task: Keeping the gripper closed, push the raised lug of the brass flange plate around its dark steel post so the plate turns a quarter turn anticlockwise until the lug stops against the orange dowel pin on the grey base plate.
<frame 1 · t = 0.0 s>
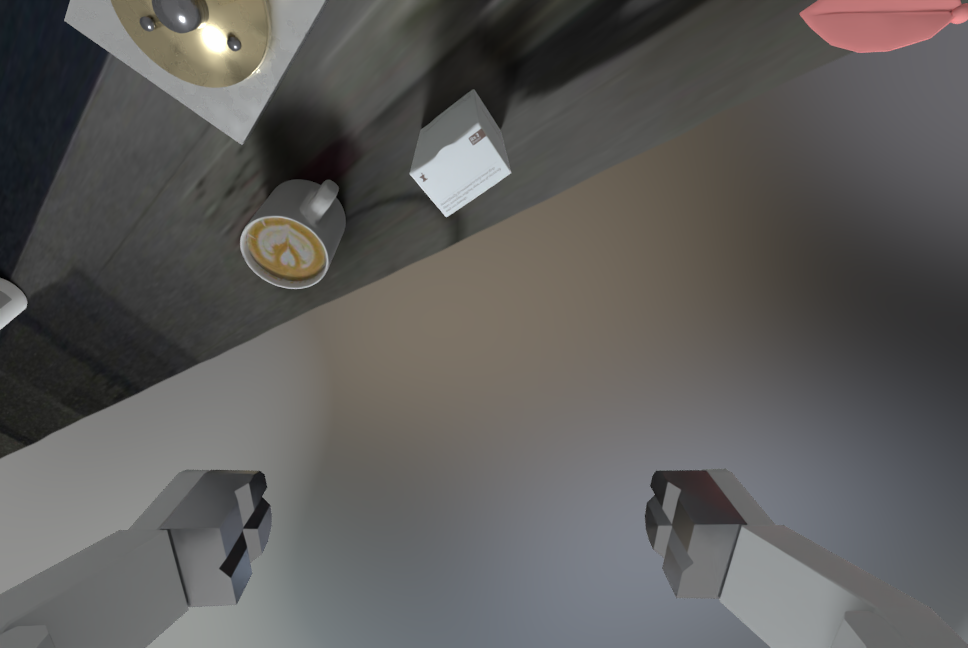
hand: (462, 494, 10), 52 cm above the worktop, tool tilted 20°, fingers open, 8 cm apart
base plate: (205, 2, 46), on the worktop
white bottle: (2, 292, 68), on the worktop
flange plate: (191, 4, 43), point 5 cm above the worktop, hinge at 0.0°
coffee mug: (316, 207, 61), on the worktop
skincare box: (461, 127, 55), on the worktop
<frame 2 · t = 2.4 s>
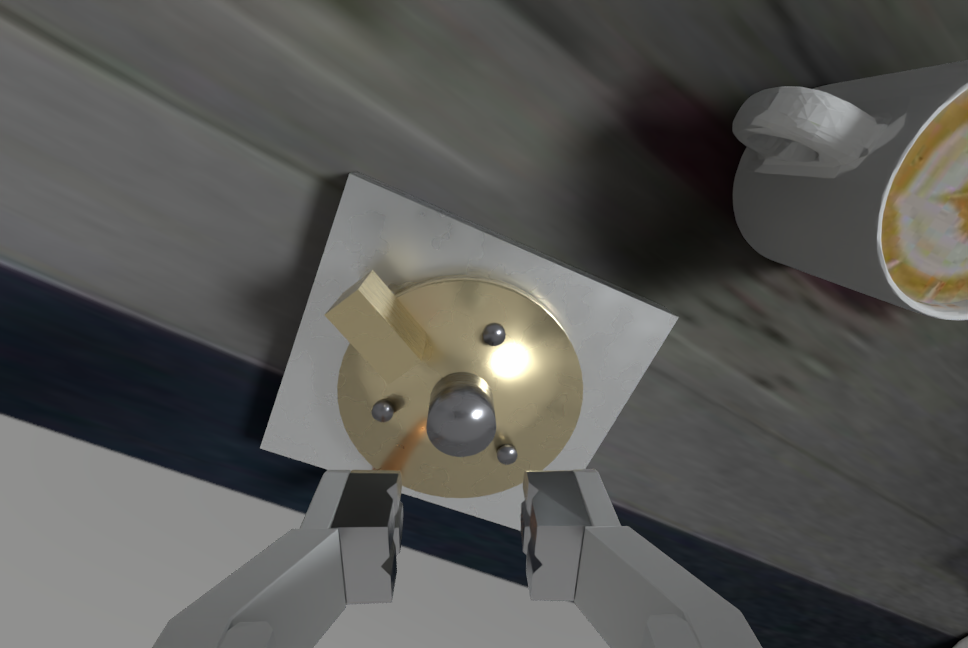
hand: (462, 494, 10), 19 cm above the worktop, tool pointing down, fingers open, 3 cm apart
base plate: (461, 370, 30), on the worktop
flange plate: (451, 398, 25), point 5 cm above the worktop, hinge at 0.0°
coffee mug: (796, 161, 26), on the worktop
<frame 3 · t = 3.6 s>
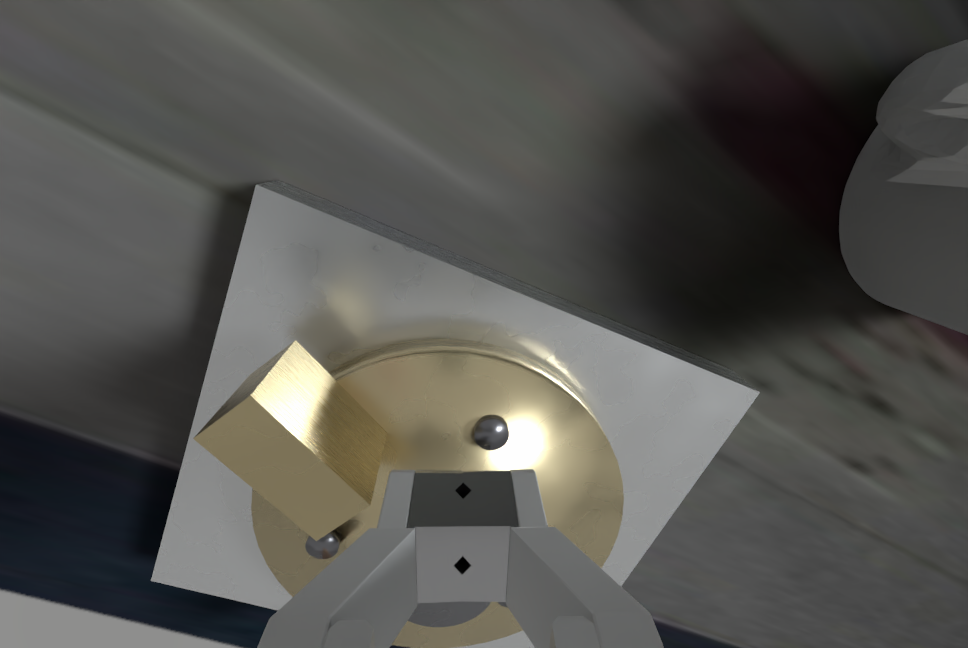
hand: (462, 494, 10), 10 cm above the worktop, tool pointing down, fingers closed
base plate: (444, 459, 21), on the worktop
flange plate: (426, 529, 16), point 5 cm above the worktop, hinge at 0.0°
coffee mug: (933, 164, 18), on the worktop
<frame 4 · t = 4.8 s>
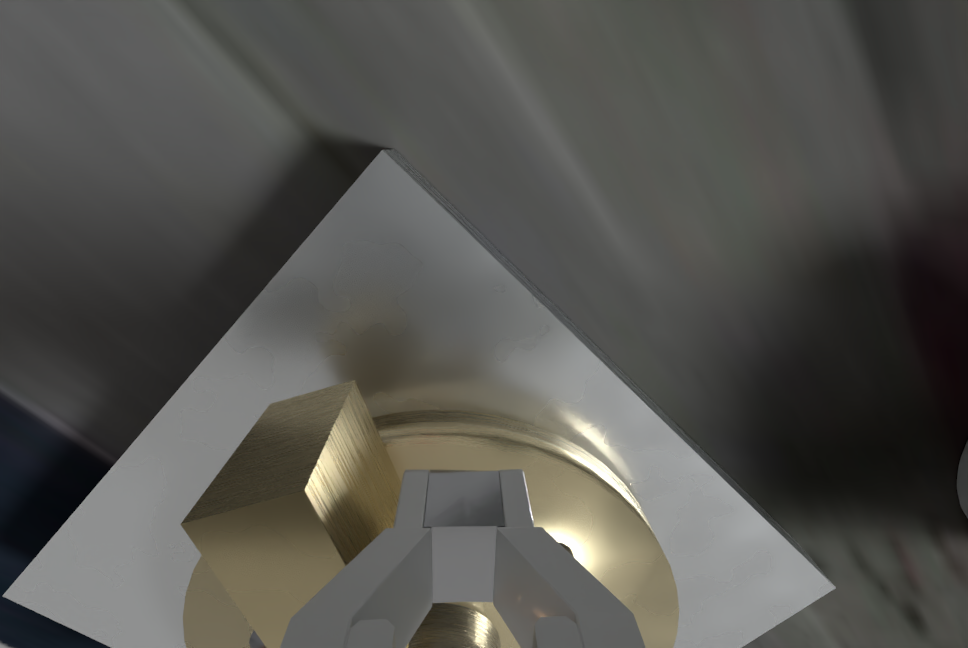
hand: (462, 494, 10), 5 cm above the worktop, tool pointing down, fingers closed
base plate: (443, 542, 17), on the worktop
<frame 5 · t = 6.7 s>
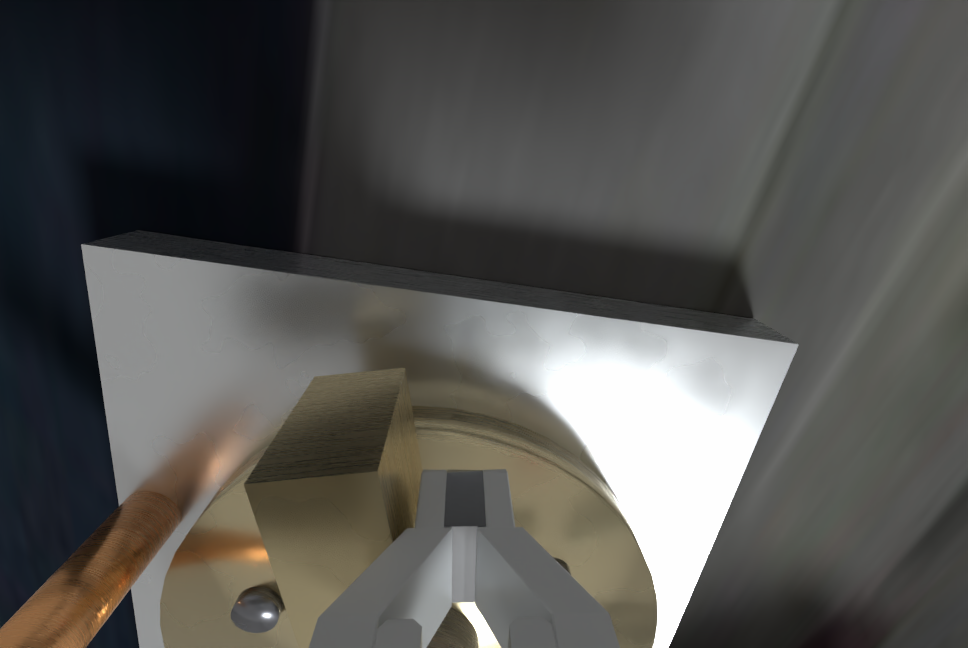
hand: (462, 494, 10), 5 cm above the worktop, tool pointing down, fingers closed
base plate: (426, 540, 17), on the worktop
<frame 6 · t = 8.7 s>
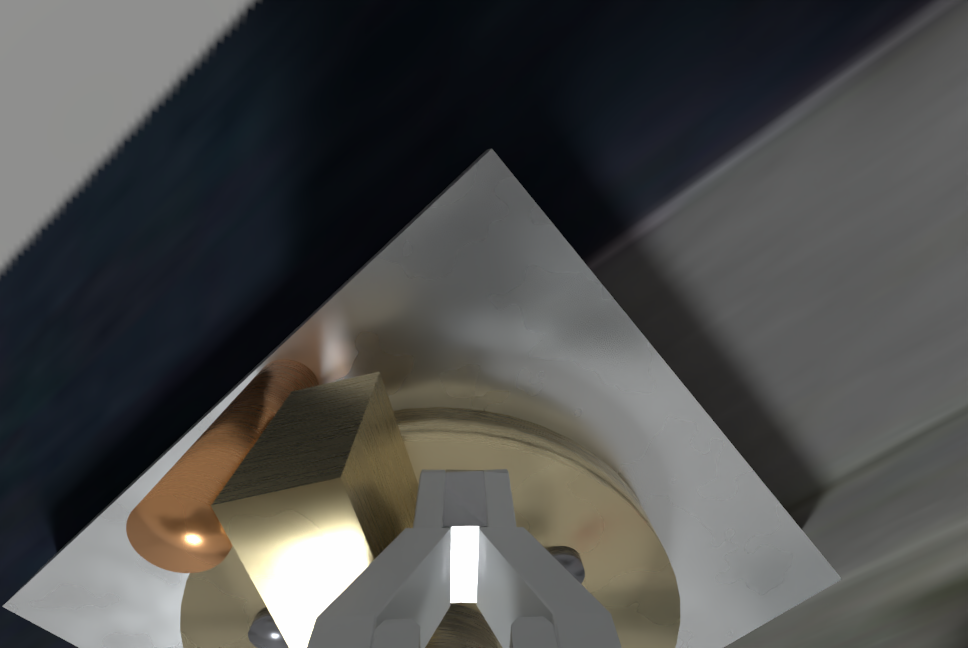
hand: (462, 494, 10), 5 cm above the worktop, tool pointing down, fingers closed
base plate: (442, 542, 17), on the worktop
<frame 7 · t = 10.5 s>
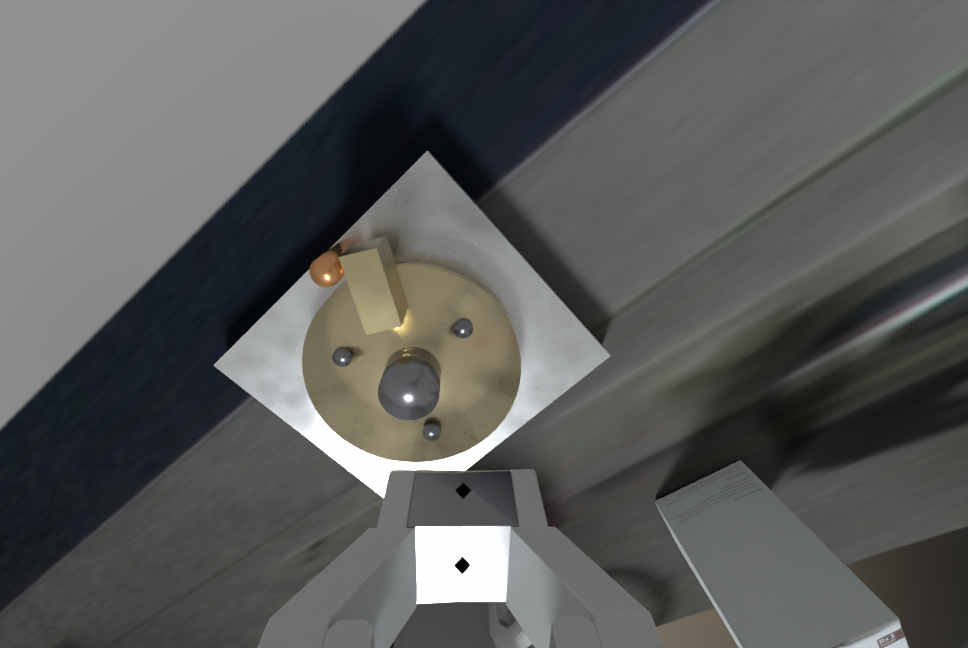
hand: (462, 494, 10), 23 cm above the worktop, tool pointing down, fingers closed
base plate: (418, 348, 33), on the worktop
flange plate: (407, 367, 28), point 5 cm above the worktop, hinge at 91.0°
coffee mug: (473, 578, 42), on the worktop
skincare box: (707, 497, 40), on the worktop
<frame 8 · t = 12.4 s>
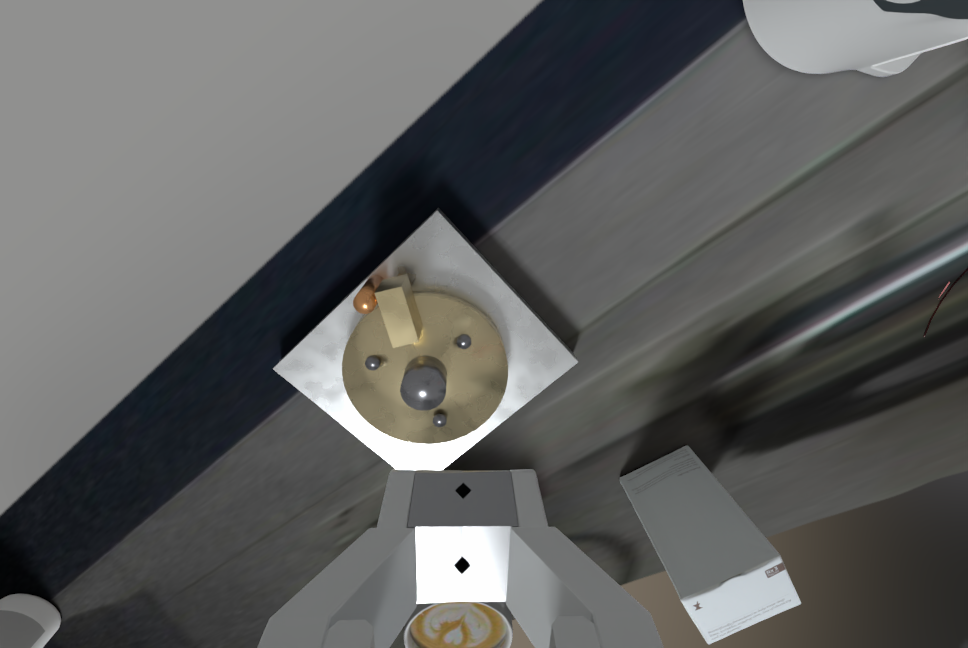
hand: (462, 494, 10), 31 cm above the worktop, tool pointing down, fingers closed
base plate: (428, 355, 43), on the worktop
white bottle: (31, 612, 52), on the worktop
flange plate: (421, 370, 38), point 5 cm above the worktop, hinge at 91.0°
coffee mug: (472, 541, 51), on the worktop
skincare box: (662, 475, 49), on the worktop
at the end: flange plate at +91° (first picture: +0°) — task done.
